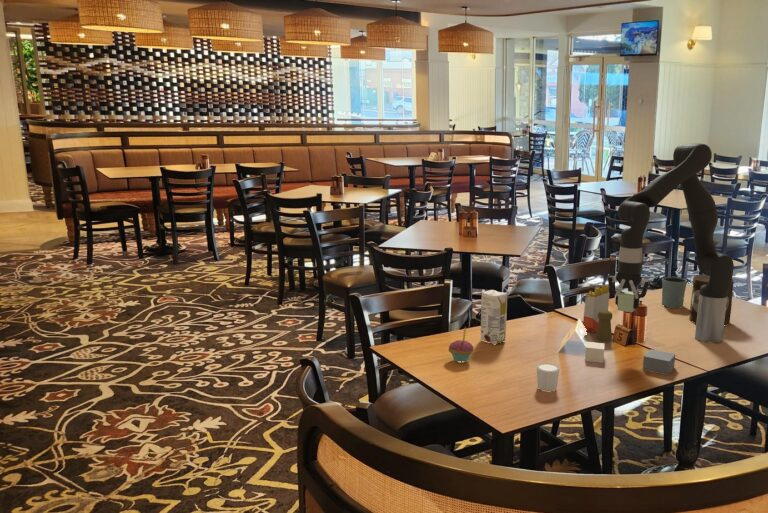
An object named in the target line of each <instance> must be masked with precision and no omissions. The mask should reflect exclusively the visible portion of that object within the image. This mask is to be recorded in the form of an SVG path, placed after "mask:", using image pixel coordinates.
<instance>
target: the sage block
mask: <svg viewBox="0 0 768 513" xmlns="http://www.w3.org/2000/svg"><path fill="white" fill-rule="evenodd" d="M634 298H635V297H634V293H633V292H632V291H630V290H624V289H623V290H622V292H620V293H619V294H618V306H617V307H616V308H617V310H616V311H620V312H625V313H626V312H627V313H633V312H635V311H636V309H634Z"/></svg>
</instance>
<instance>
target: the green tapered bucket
mask: <svg viewBox="0 0 768 513" xmlns="http://www.w3.org/2000/svg"><path fill="white" fill-rule="evenodd" d="M661 284H662V285H661V286H662V287H661V289H662V290H661V305H662V306H663V305H664V306H663V307H665V306H666V308H668V307H671V308H670V309H681V308H680V307H682V308H683V307H684V303H685V302H684V299H685V295H686V294H685V292H686V288H687V284H688V279H685V278H683V277H678V276H677V277H676V276H665V277H662V278H661Z"/></svg>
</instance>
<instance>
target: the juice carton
mask: <svg viewBox="0 0 768 513" xmlns="http://www.w3.org/2000/svg"><path fill="white" fill-rule="evenodd" d="M480 299H481V305H480V309H481V310H480V341H481V340H484V341H487V342H490V343H492V344H497V345H499V344H498V343H500V342H503V341H505V342H506V337H507V312H508V311H507V310H508V293H507V292H503V291H502V292H501V291H497V290H494V289H489V290H486V291H484V292H482V293H481V298H480ZM503 343H504V342H503ZM492 344H491V345H492ZM500 344H501V343H500Z"/></svg>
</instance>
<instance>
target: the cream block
mask: <svg viewBox="0 0 768 513" xmlns="http://www.w3.org/2000/svg"><path fill="white" fill-rule="evenodd" d="M584 354H585V355H584V361H585V362H593V363H601V364H603V363H604V358H605V342H603V343H601V342H592V341H586V344H585V353H584Z"/></svg>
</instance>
